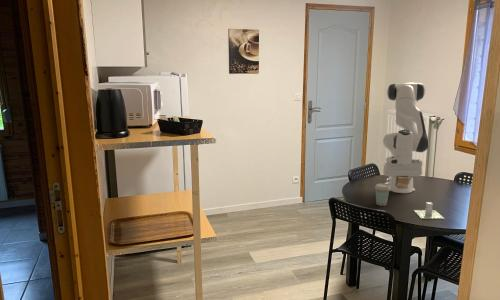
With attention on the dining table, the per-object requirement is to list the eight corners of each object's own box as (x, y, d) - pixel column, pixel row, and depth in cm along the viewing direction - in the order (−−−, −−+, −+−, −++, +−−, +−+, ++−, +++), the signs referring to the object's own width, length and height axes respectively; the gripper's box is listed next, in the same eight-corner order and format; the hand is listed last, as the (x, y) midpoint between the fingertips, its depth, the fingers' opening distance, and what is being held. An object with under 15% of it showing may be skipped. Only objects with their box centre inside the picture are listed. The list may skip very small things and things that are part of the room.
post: (413, 211, 215) (414, 199, 213) (435, 211, 214) (436, 199, 212) (421, 219, 203) (422, 206, 201) (444, 219, 202) (445, 206, 201)
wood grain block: (395, 185, 214) (396, 174, 213) (404, 185, 214) (405, 174, 212) (398, 188, 209) (398, 177, 208) (407, 188, 209) (408, 177, 207)
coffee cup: (390, 206, 222) (391, 187, 219) (375, 206, 223) (376, 186, 221) (387, 202, 230) (388, 183, 227) (373, 201, 231) (374, 182, 229)
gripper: (420, 158, 210) (418, 181, 213) (383, 158, 212) (381, 181, 215) (424, 160, 204) (422, 185, 207) (386, 160, 206) (384, 185, 209)
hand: (401, 183), depth 211 cm, fingers closed on wood grain block, 5 cm apart
